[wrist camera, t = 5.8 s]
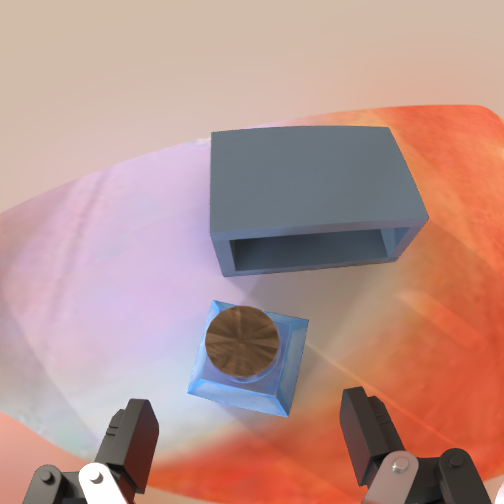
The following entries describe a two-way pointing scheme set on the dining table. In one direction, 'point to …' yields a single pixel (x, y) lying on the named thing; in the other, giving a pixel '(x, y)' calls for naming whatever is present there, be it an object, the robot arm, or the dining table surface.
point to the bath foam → (500, 495)
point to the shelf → (310, 198)
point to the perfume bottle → (249, 358)
